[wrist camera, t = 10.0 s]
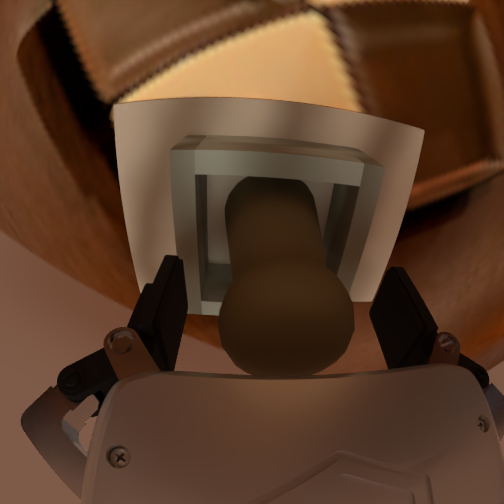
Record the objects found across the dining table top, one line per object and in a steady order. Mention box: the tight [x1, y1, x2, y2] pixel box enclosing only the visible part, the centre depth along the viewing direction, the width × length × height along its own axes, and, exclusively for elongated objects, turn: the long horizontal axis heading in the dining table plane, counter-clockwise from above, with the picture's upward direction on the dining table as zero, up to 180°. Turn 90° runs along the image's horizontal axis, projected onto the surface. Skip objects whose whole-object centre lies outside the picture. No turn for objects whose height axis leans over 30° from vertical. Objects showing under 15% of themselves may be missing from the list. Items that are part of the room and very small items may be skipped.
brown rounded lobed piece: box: [218, 176, 355, 376], centre depth 13 cm, size 6×6×11 cm
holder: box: [114, 97, 425, 315], centre depth 17 cm, size 20×15×5 cm
